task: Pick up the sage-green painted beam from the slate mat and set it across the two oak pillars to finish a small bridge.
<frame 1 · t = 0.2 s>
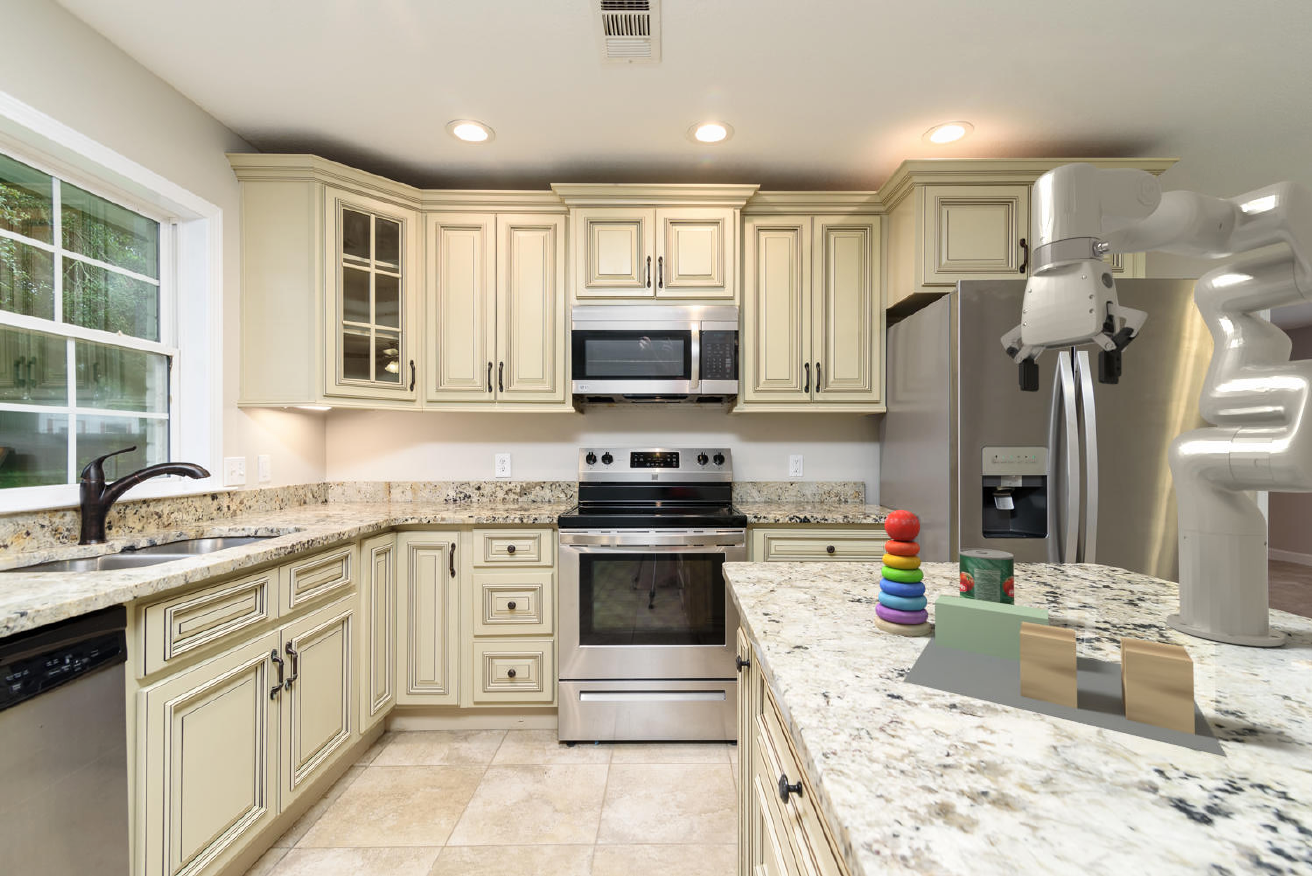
hand: (1066, 387, 73), 37 cm above the countertop, tool pointing down, fingers open, 9 cm apart
stacking toy: (902, 632, 84), on the countertop
mat: (1043, 682, 66), on the countertop
beam: (990, 649, 75), point 1 cm above the countertop, touching mat
pillar 2: (1155, 717, 56), point 1 cm above the countertop, touching mat
pillar 1: (1048, 694, 61), point 1 cm above the countertop, touching mat
canned tomato: (986, 620, 91), on the countertop
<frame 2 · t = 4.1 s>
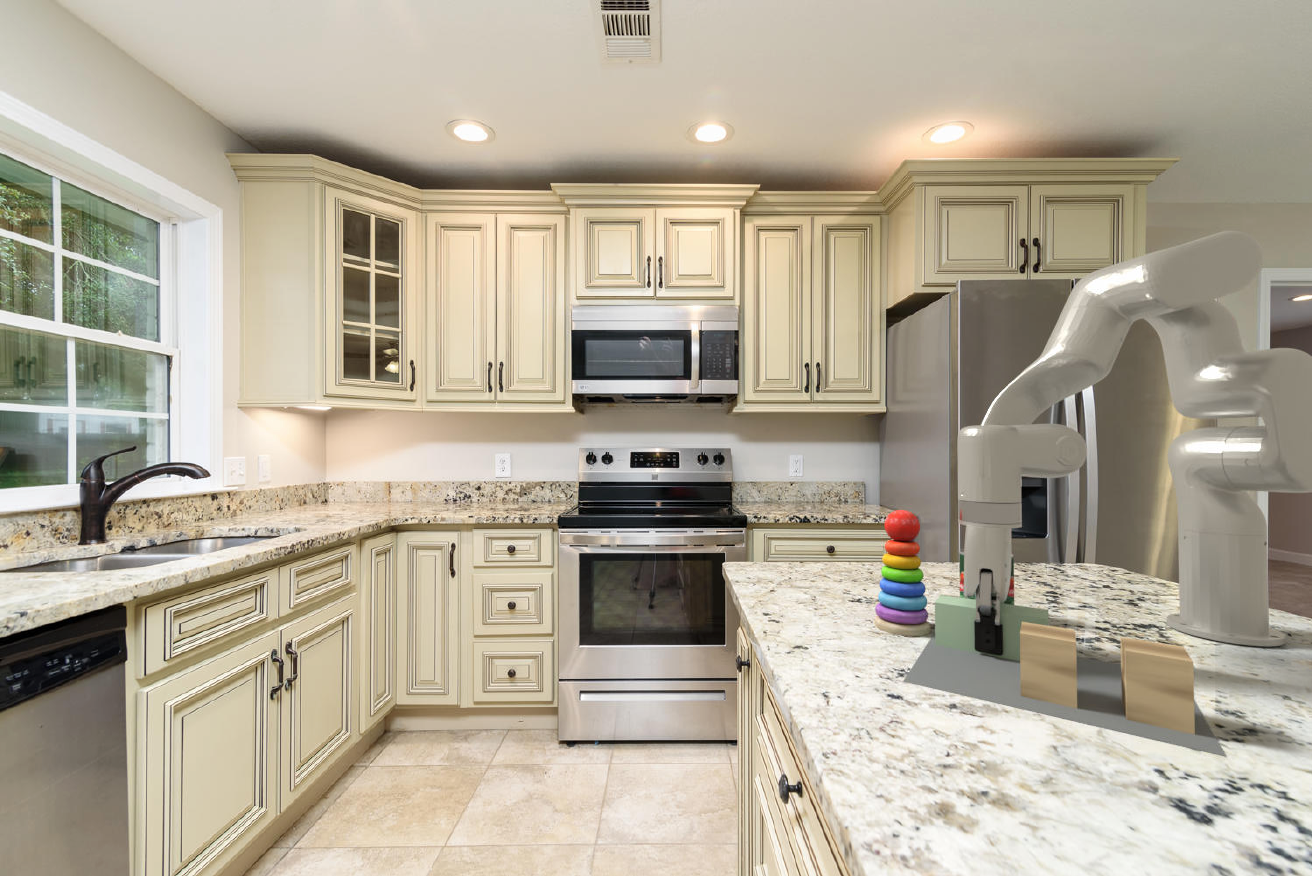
hand: (990, 645, 75), 1 cm above the countertop, tool pointing down, fingers closed on beam, 5 cm apart
beam: (990, 649, 75), point 1 cm above the countertop, touching gripper, mat
everything else where it was.
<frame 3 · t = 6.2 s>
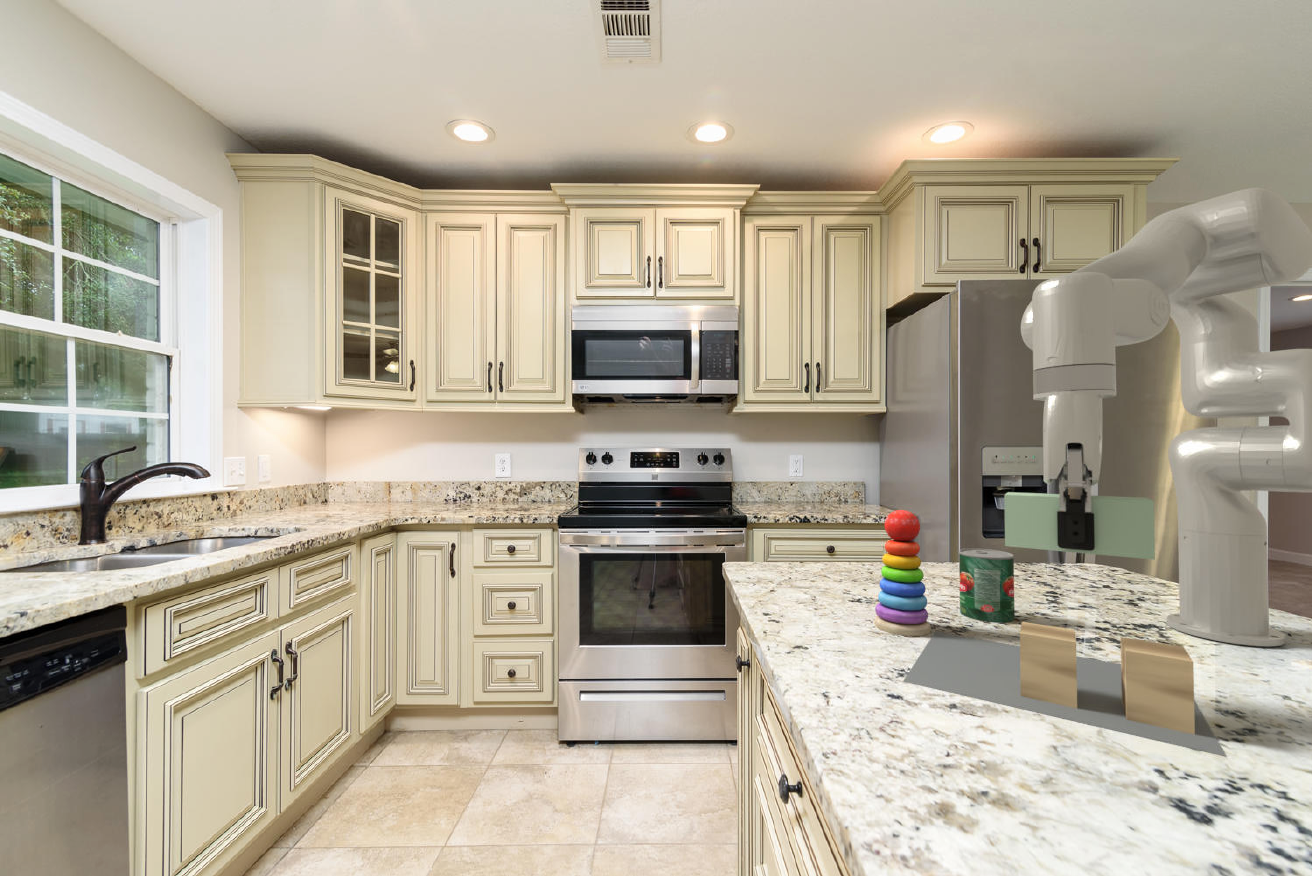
hand: (1075, 543, 62), 18 cm above the countertop, tool pointing down, fingers closed on beam, 5 cm apart
beam: (1074, 549, 62), point 17 cm above the countertop, touching gripper
everything else where it was.
when the fingers open (10 cm above the countertop, at t = 8.7 s): beam drops 1 cm, resting on pillar 2, pillar 1.
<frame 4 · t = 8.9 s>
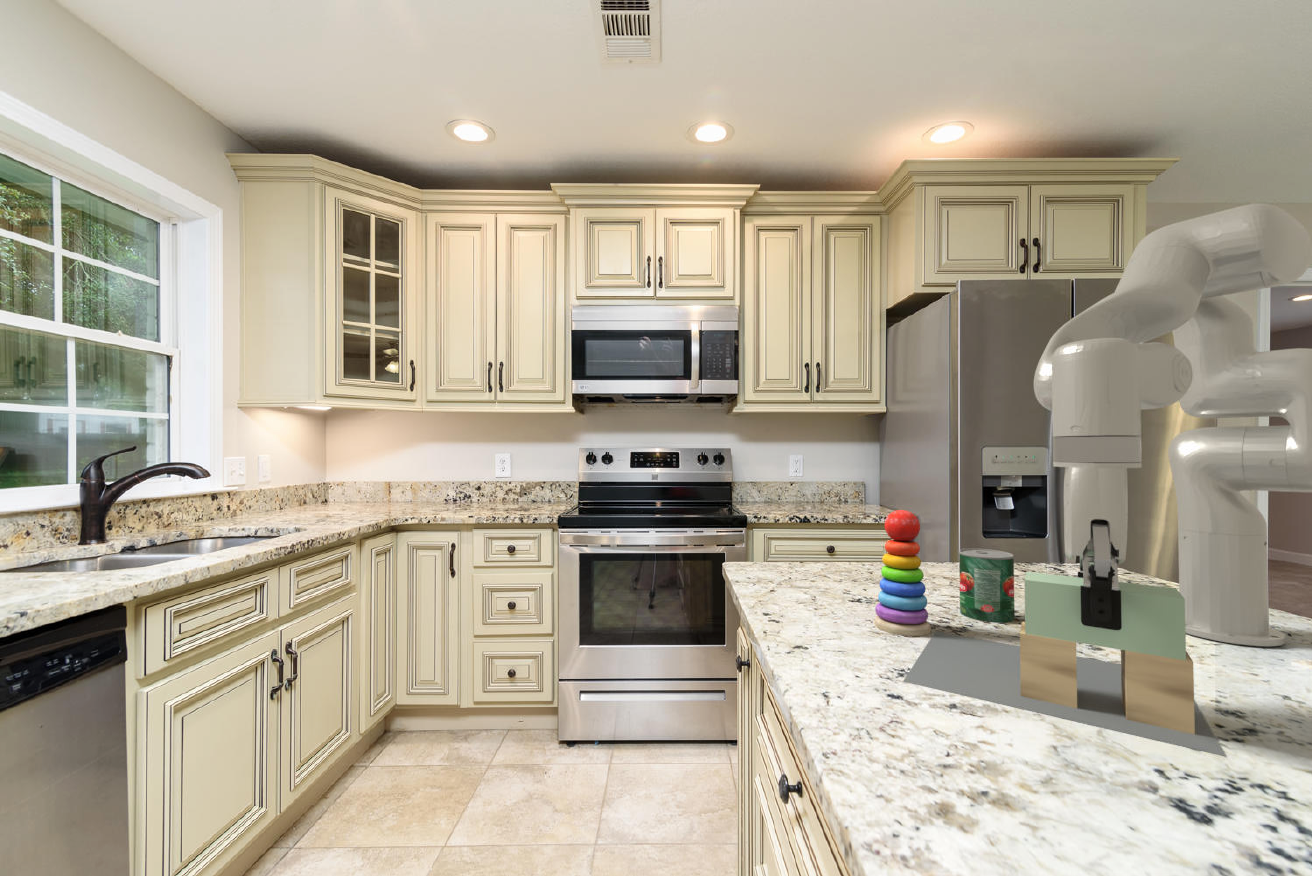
hand: (1098, 616, 59), 10 cm above the countertop, tool pointing down, fingers open, 7 cm apart
beam: (1098, 639, 59), point 8 cm above the countertop, touching pillar 2, pillar 1
pillar 2: (1155, 717, 56), point 1 cm above the countertop, touching beam, mat
pillar 1: (1048, 693, 61), point 1 cm above the countertop, touching beam, mat
everything else where it was.
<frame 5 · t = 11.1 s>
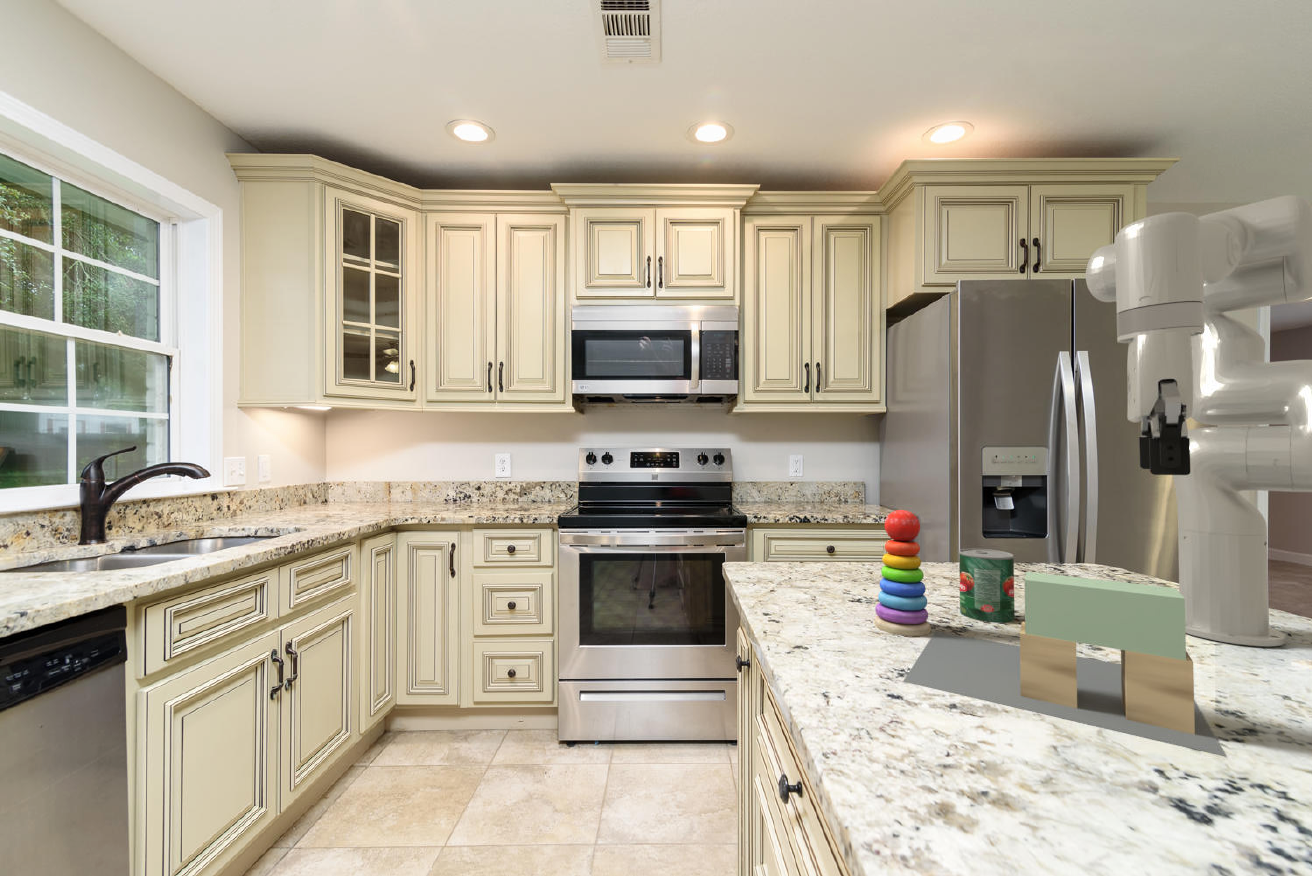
hand: (1163, 471, 64), 26 cm above the countertop, tool pointing down, fingers open, 9 cm apart
nothing on the countertop moved.
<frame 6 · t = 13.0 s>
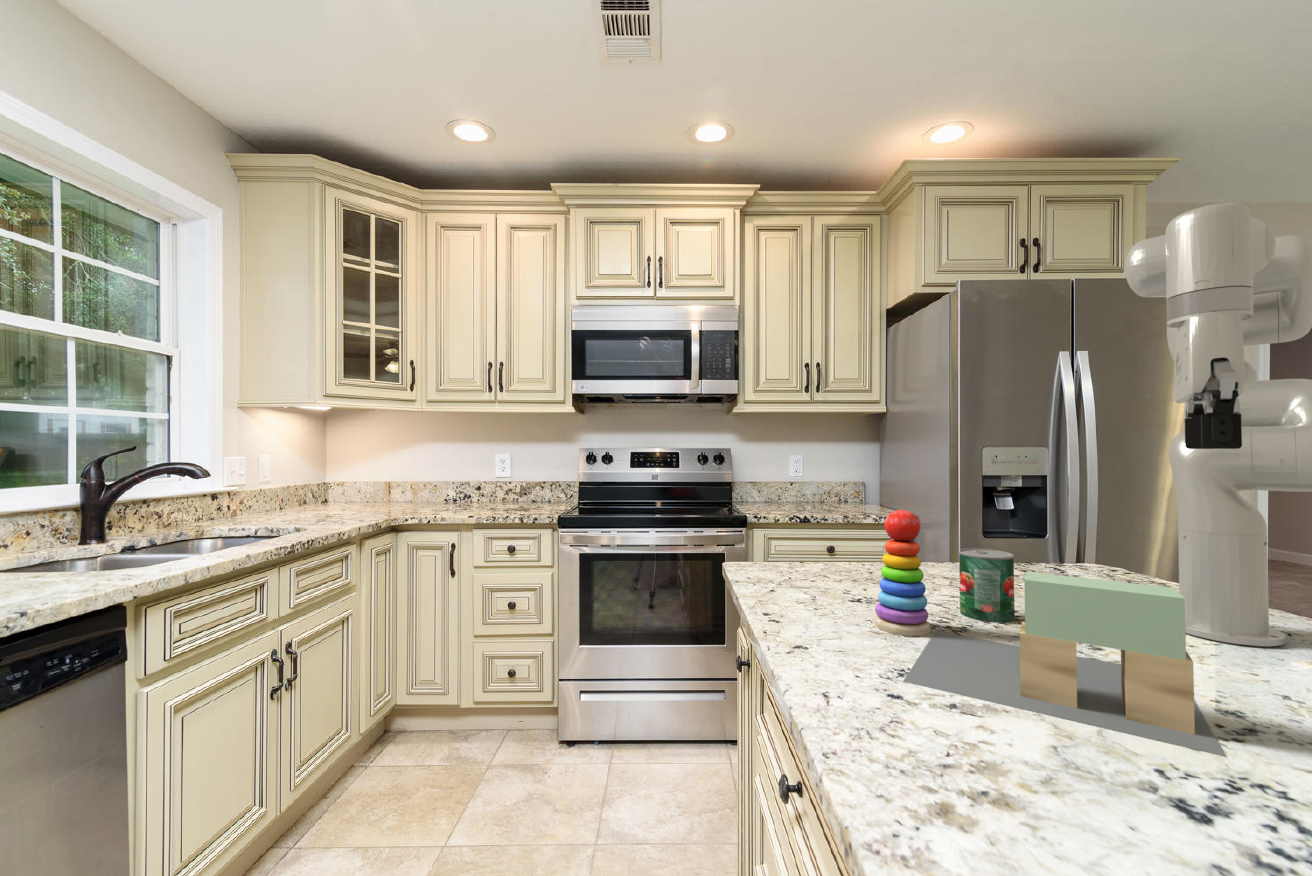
hand: (1211, 448, 67), 28 cm above the countertop, tool pointing down, fingers open, 9 cm apart
nothing on the countertop moved.
at the end: beam inside the target area (0.1 cm from its centre), point 7.6 cm above the countertop; beam tilted 0°; the gripper is holding nothing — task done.
